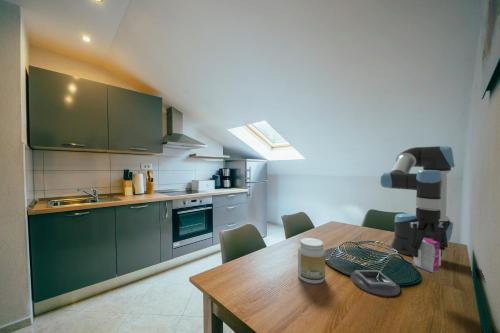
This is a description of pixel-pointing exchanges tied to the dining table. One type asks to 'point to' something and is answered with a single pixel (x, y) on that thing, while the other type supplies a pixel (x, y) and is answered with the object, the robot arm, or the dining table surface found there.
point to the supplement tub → (311, 260)
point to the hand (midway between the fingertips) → (426, 264)
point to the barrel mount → (375, 283)
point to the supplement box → (429, 255)
